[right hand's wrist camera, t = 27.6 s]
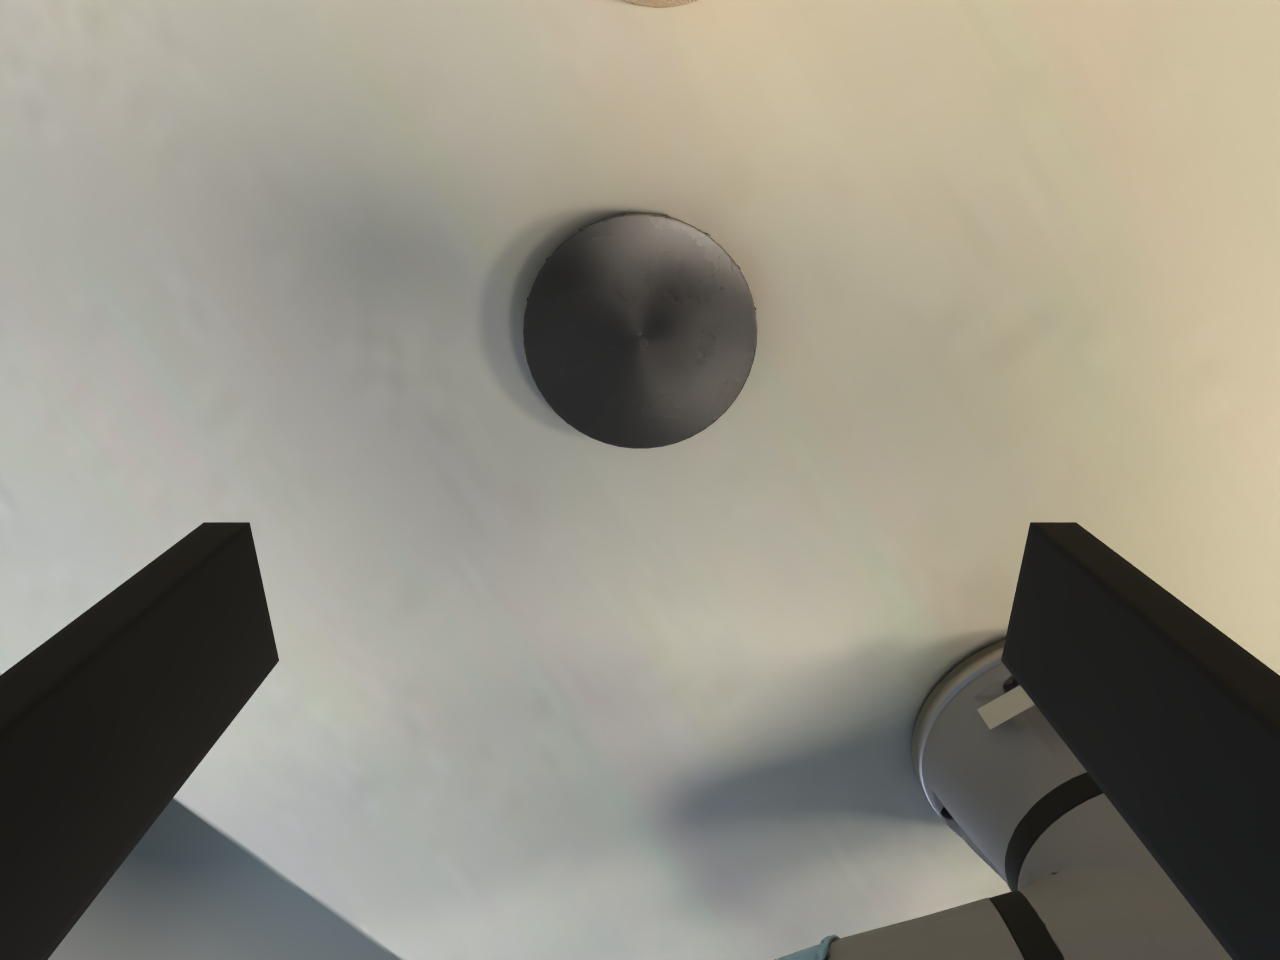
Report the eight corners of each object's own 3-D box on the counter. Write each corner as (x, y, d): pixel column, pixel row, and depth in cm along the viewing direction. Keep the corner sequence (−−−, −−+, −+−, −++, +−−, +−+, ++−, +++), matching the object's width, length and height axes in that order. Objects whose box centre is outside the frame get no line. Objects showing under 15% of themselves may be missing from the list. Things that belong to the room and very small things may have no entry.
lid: (501, 401, 38) (495, 410, 36) (562, 177, 34) (558, 176, 32) (706, 466, 39) (708, 477, 37) (787, 257, 35) (794, 259, 33)
